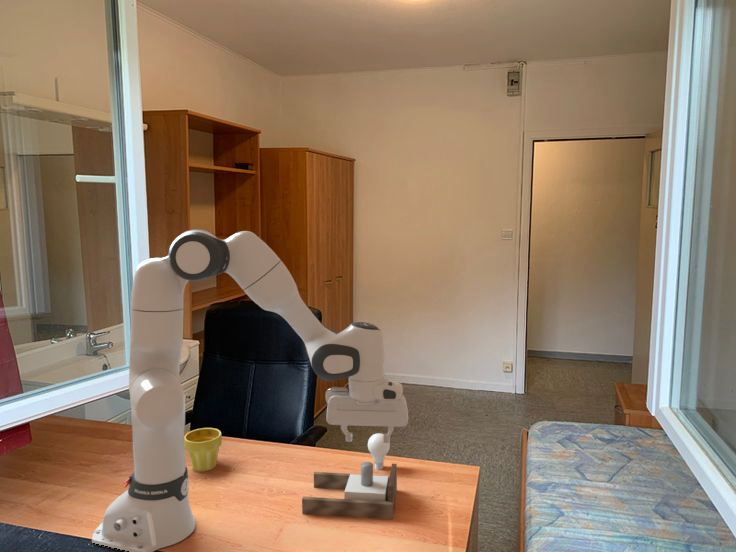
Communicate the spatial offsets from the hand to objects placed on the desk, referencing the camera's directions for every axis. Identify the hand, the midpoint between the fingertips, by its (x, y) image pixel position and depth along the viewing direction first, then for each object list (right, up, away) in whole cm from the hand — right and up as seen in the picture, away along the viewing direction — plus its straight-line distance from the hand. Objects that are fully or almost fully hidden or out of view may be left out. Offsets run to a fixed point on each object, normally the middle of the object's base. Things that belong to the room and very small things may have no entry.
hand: (367, 441), depth 136 cm
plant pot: (-48, -15, +24) cm, 55 cm away
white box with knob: (0, -16, +2) cm, 16 cm away
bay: (-4, -17, +2) cm, 18 cm away
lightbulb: (+3, -15, +21) cm, 26 cm away
